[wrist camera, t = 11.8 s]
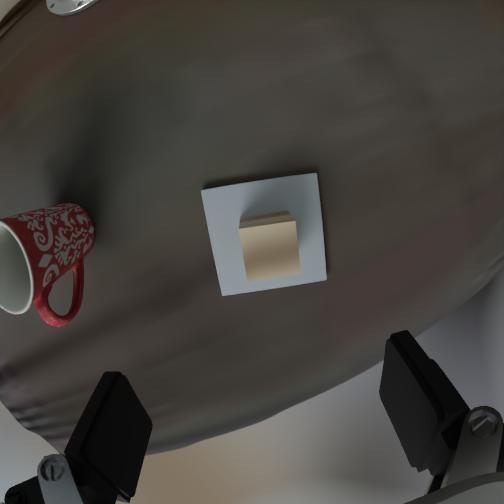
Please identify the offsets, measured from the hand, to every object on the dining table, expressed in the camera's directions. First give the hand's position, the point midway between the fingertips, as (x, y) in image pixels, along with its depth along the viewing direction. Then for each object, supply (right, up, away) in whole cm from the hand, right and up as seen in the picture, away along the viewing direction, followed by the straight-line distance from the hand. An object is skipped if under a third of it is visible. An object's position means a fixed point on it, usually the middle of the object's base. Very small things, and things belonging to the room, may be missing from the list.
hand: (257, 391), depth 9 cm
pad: (+1, +7, +22) cm, 24 cm away
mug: (-22, +6, +23) cm, 32 cm away
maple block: (+1, +6, +22) cm, 23 cm away
